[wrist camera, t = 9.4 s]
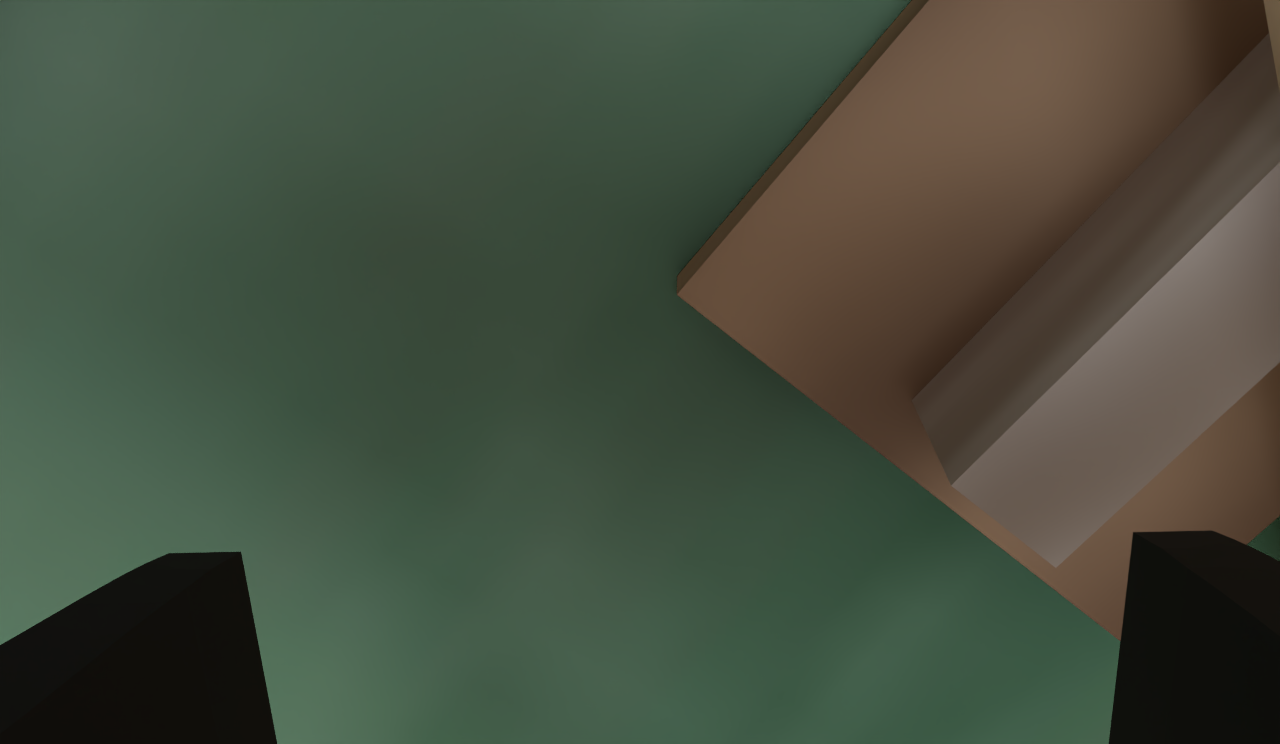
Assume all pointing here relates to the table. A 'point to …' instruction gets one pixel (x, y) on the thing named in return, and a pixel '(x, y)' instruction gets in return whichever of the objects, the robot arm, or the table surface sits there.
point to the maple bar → (1274, 31)
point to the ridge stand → (1036, 272)
